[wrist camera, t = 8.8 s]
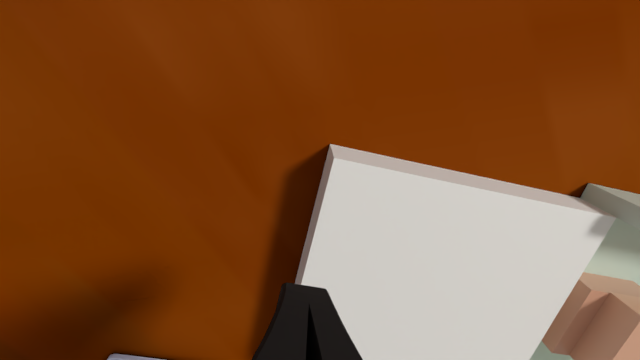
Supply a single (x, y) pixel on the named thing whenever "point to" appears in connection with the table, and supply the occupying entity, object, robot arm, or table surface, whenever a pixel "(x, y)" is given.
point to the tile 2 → (612, 331)
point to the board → (443, 257)
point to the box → (610, 244)
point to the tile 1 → (583, 309)
